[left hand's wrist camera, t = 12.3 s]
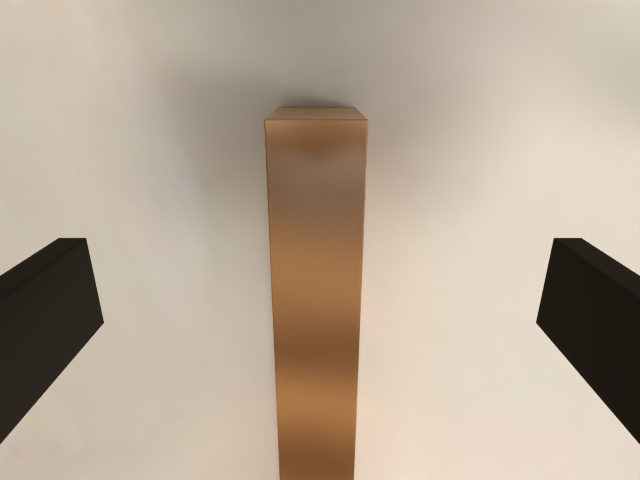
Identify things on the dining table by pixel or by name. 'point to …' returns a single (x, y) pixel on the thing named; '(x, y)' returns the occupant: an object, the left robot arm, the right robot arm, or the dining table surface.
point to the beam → (316, 283)
